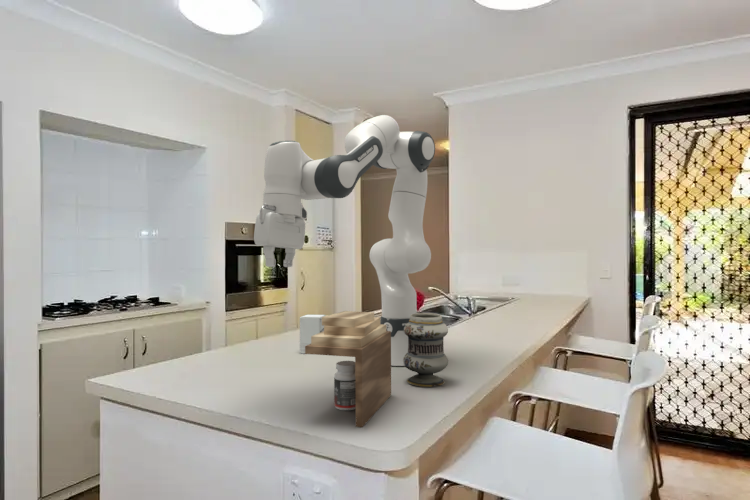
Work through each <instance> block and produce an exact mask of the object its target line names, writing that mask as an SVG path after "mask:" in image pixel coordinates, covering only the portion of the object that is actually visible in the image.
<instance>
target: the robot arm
mask: <svg viewBox="0 0 750 500" xmlns="http://www.w3.org/2000/svg"><path fill="white" fill-rule="evenodd" d="M344 149H345V153H346V154H335V155H331V156H328V157H324V158H320V159H315V160H314V158H311V157H310V156H309V155H308V154H307V153H305V151H304V150H303V148H302V146H301V143H300V142H298V141H295V140H279V141H276V142H272V143H271V144H269V145H268V147H267V150H266V154H265V157H264V158H265V159H264V170H263V178H264V182H265V186H264V187H265V188H264V191H263V194H262V195H263V197H262V206H261V207H260V208H259V212H258V213H257V214H256V217H255V223H254V230H253V231H254V232H253V241H254V244H255V245H256V246H261V247H263V249H262V251H263V254H264V258H265V266H266V268H267V267H268V268H273V267H274V268H275V267H276V265H277V264H276V262H277V261H276V258H275V254H274V253H275V249H276V248H281V249H285V250H284V251H285V256H284V257H285V258H284V259H283V267H284V268H292V267H293V263H294V262H293V260H294V258H295V255H296V250H302V249H303V247H304V245H305V237H306V236H305V235H306V220H307V219H308V212H307V210H306V208H305V207H304V206H303V203H302V200H304V201H312V200H313V201H314V200H323V199H343V198H346V197H348V196H349V195H350V194H351V193H352V192H353V190H354V189H355V187H356V184H357V183H358V182H359V180H360V178H361V177H363V175H364V174H365V173H366V172H367V171H368V170H369V169H371V168H372V167H375V168H378V169H384V170H386V169H391V170H392V169H393V170H395V172H396V176H395V179H394V183H393V186H392V191H391V198H390V203H389V208H388V220H389V221H390V223H391V226H392V238H383V239H381V240H379V241H376V242H375V243H374V244H373V245H372V247H371V248H370V250H369V261H370V263H371V264H372V266H373V267H374V269H375V273H376V275H377V279H378V283H379V287H380V288H379V289H380V295H381V297H380V298H381V316H380V324H383V325H386V331H391V367H392V366H393V367H396V366H397V367H406V366H405V365H404V363H403V358H404V356H405V355H406V353H408V336H407V335H406V334H405V333H404V326H405V325H406V324H407V323H408V322H409V320H410V315H411V314H415V313H418V312H417V311H418V310H417V309H418V308H417V302H418V301H417V297H418V295H417V291H416V288H414V286H413V285H412V283H411V281H410V277H409V274H415V273H418V272H421V271H424V270H426V268H428V267H429V265H430V263H431V260H432V251H431V248H430V246H429V244H428V243H427V242H426V240H425V235H424V225H423V224H424V214H425V206H426V200H427V193H428V168H429V166H430V164H431V163H432V161H433V159H434V157H435V153H436V144H435V140H434V139H433V137H432V136H431V134H430V133H428V132H426V131H422V130H415V131H400V126H399V124H398V122H397V120H396V118H395V119H394V117H392V116H390V115H387V114H381V115H377V116H374V117H371V118H368V119H366V120H364V121H363V122H360V123H359V124H358V125H356V126H354V128H352V129H351V130H349V132H348V133H347V134H346V135H345V138H344Z"/></svg>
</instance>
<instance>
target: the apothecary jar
mask: <svg viewBox="0 0 750 500" xmlns="http://www.w3.org/2000/svg"><path fill="white" fill-rule="evenodd" d="M448 332H449V328H448V326H447V324H446V323H444V321H443V316H442V314H438V313H434V312H417V313H415V314H411V315H410V320H409V322H408V323H407V324H406V325H405V326H404V333H405V334H406V335H407V336H408V353H406V355H405V356H404V358H403V363H404V365H405V366H404V367H406V369H407V370H409V371H411V372H414V373H417V374H415V375H413V376H410V377H409V378H407V380H406V383H408V384H409V385H412V386H415V387H421V388H431V387H440V386H442V385H444V384H445V380H444V379H443V378H441V377H439V376H438V375H435V374H436V373H439V372H442V371H444V370H445V369H447V367H448V366H449V358H448V356H447V355H446V354H445V350H444V337H446V336H447V335H448Z"/></svg>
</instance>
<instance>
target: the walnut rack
mask: <svg viewBox="0 0 750 500" xmlns="http://www.w3.org/2000/svg"><path fill="white" fill-rule="evenodd" d="M305 354H306V355H319V356H333V357H351V358H354V359H355V360H354V362H355V395H356V409H355V428H364V426H366V424H367V423H368V422H369V421H370V420H371V418H372V417H373V416H374V415H375V414H376V413H377V412H378V411H379V409H380V408H382V406H383V405H385V403H386V402H387V401H388V399H390V397H391V396H392V365H391V331H386V333H384V334H383V335H381V336H379V337H378V338H376V339H374V340H373V341H371V342H370V343H368V344H366V345H365V346H363V347H361V348H356V347H339V346H322V345H311V344H309V345H307V346H305ZM305 354H304V355H305Z"/></svg>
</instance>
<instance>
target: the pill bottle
mask: <svg viewBox="0 0 750 500" xmlns="http://www.w3.org/2000/svg"><path fill="white" fill-rule="evenodd" d="M335 370H337V371H336V372H335V374H334V377H333V385H334V386H333V387H334V388H333V389H334V390H333V396H334V397H333V400H334V403H333V405H334V407H335V409H337V410H340V411H353V410H356V395H355V360H354V361H353V360H342V361H341V360H340V361H337V362H336V363H335Z"/></svg>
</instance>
